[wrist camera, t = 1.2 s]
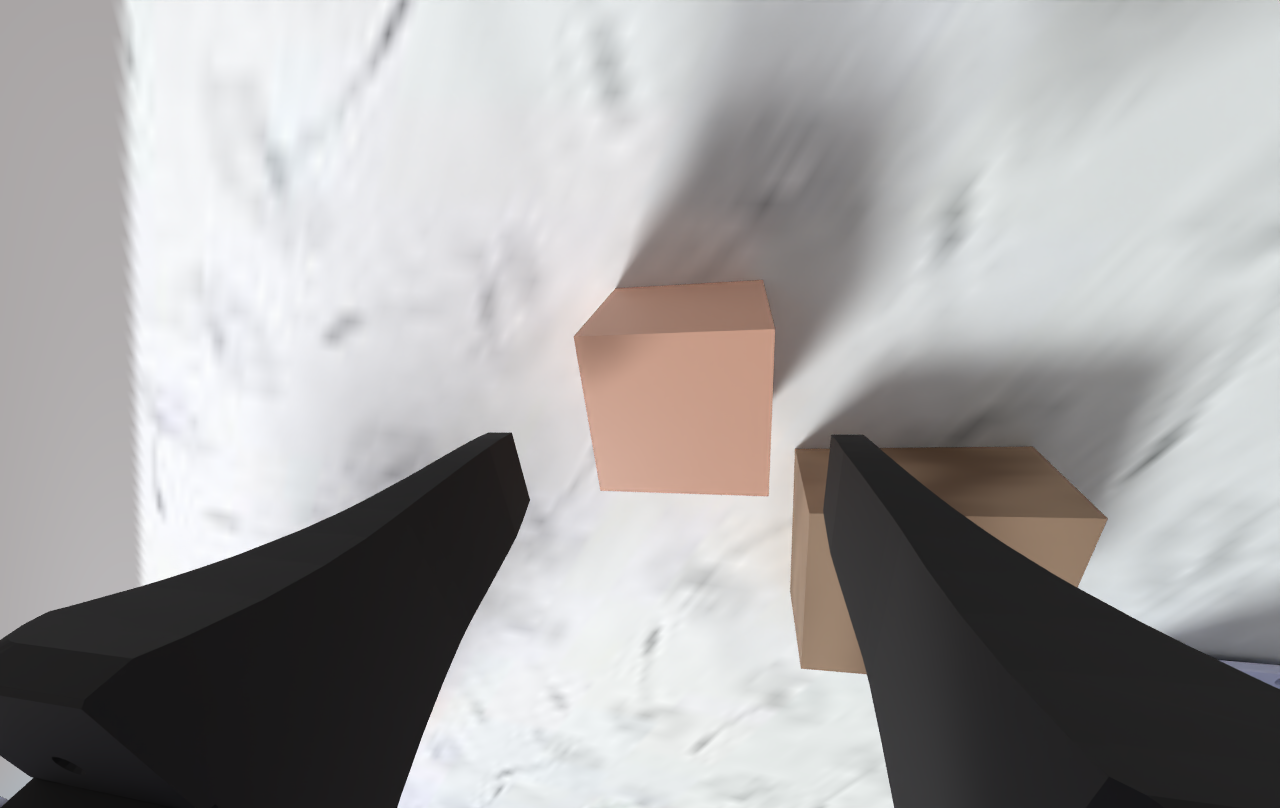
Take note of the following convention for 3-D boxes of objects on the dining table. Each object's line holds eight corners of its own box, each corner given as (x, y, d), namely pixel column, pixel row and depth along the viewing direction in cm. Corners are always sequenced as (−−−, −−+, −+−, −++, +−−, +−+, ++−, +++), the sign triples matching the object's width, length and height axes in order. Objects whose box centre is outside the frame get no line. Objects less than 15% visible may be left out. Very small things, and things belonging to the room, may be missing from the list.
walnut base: (1027, 441, 16) (1107, 518, 13) (980, 596, 20) (1033, 688, 17) (794, 444, 18) (809, 513, 15) (789, 586, 22) (801, 668, 18)
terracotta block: (762, 279, 15) (775, 329, 11) (759, 411, 17) (768, 496, 13) (615, 287, 16) (573, 336, 12) (631, 411, 18) (600, 490, 14)
